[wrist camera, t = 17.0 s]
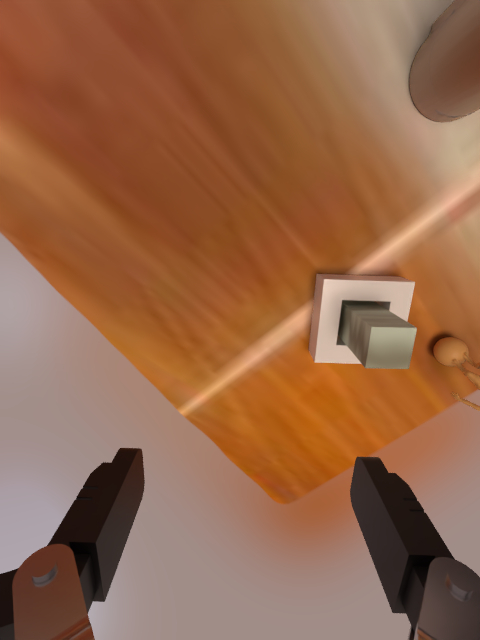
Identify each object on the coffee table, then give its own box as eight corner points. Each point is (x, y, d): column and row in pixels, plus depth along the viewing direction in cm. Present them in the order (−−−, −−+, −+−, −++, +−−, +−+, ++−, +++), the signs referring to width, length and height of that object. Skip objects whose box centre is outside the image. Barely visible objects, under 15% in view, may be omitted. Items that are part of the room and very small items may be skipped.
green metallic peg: (337, 298, 42) (371, 327, 31) (370, 298, 42) (417, 327, 31) (333, 329, 44) (365, 368, 32) (365, 330, 44) (408, 368, 32)
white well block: (316, 273, 41) (324, 279, 38) (399, 276, 41) (415, 282, 38) (308, 350, 45) (314, 362, 41) (385, 352, 45) (398, 364, 41)
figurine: (462, 318, 43) (541, 353, 32) (481, 350, 45) (563, 394, 33) (408, 352, 45) (465, 397, 33) (428, 382, 46) (490, 435, 35)
